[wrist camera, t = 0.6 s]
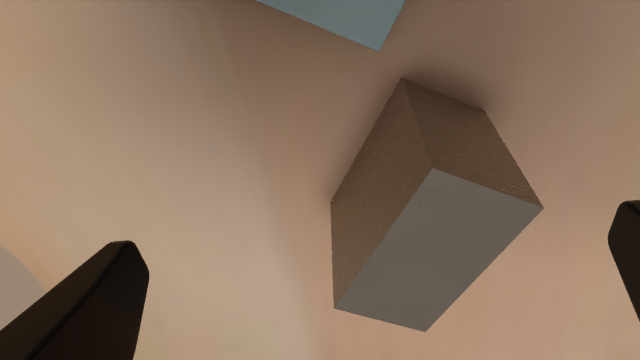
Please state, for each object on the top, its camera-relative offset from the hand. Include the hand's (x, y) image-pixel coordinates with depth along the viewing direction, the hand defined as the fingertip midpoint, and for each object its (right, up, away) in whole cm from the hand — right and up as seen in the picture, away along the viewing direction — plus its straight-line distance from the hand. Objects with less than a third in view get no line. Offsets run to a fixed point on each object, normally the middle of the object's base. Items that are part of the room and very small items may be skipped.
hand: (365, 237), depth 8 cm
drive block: (+3, +2, +14) cm, 15 cm away
